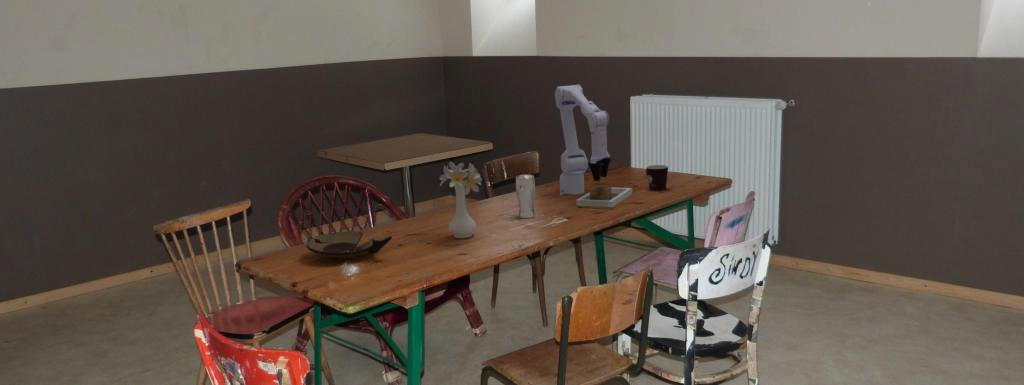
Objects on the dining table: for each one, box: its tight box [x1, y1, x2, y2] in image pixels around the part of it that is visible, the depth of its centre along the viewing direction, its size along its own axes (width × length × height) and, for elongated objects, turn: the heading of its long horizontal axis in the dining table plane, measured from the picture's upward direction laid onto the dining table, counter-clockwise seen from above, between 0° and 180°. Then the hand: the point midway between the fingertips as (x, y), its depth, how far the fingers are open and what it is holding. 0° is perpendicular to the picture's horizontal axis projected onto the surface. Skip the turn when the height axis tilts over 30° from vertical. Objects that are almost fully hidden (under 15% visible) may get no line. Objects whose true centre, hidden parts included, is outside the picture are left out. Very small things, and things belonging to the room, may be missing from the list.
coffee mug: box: [645, 164, 669, 192], centre depth 342 cm, size 12×9×10 cm
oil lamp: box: [306, 231, 393, 260], centre depth 269 cm, size 22×30×8 cm
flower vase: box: [439, 161, 483, 239], centre depth 285 cm, size 13×18×25 cm
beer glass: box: [515, 174, 536, 219], centre depth 309 cm, size 7×7×15 cm
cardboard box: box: [589, 185, 613, 201], centre depth 323 cm, size 7×5×6 cm
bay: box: [576, 186, 633, 210], centre depth 328 cm, size 14×25×3 cm, turn 155°
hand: (600, 178), depth 322 cm, fingers open, 7 cm apart
